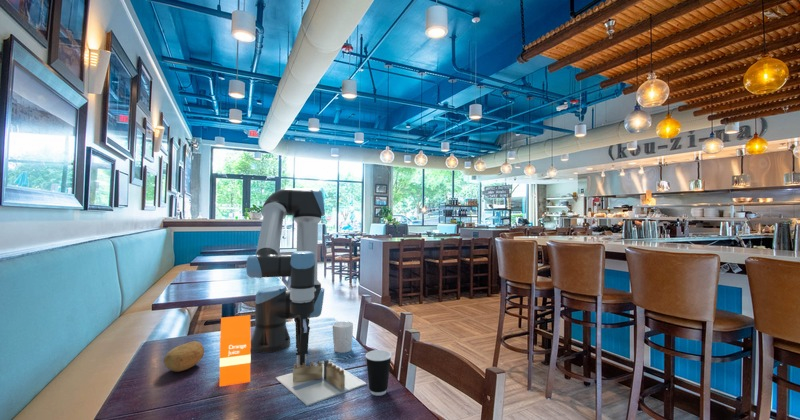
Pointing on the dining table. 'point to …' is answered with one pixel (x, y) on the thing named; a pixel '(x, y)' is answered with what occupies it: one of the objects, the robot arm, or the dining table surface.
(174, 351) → the potato
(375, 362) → the dixie cup
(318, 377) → the beige crenellated panel
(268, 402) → the dining table surface
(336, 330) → the white cup
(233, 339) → the orange juice
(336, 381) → the fixed fence panel
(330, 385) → the card
